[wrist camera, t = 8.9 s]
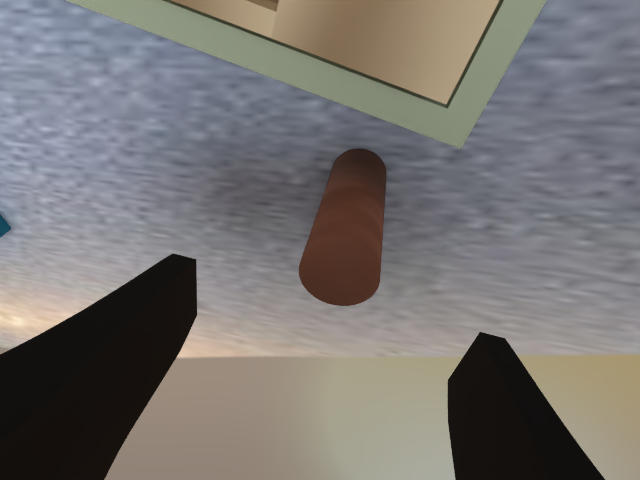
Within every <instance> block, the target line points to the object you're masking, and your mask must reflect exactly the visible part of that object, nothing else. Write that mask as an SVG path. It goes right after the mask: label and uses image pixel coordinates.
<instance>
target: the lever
mask: <svg viewBox="0 0 640 480" xmlns="http://www.w3.org/2000/svg"><path fill="white" fill-rule="evenodd" d="M10 229H11V227H10V226H9V225H8V224H7V222H6V221H5V220H4V219H3V217H2V216H1V215H0V237H2V236H3V235H4V234H5V233H7V232H8V231H9V230H10Z"/></svg>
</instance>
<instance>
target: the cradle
mask: <svg viewBox="0 0 640 480" xmlns="http://www.w3.org/2000/svg"><path fill="white" fill-rule="evenodd" d="M66 1H69V2H72V3H74V4H77V5H79V6H82V7H85V8H87V9H90V10H93V11H95V12H98V13H101V14H103V15H106V16H109V17H111V18H114V19H117V20H119V21H122V22H125V23H127V24H130V25H133V26H135V27H138V28H141V29H143V30H146V31H149V32H151V33H154V34H157V35H159V36H162V37H165V38H167V39H170V40H173V41H175V42H178V43H181V44H183V45H186V46H189V47H191V48H194V49H196V50H199V51H202V52H204V53H207V54H210V55H212V56H215V57H218V58H220V59H223V60H226V61H228V62H231V63H234V64H236V65H239V66H242V67H244V68H247V69H250V70H252V71H255V72H258V73H260V74H263V75H266V76H268V77H271V78H274V79H276V80H279V81H282V82H284V83H287V84H290V85H292V86H295V87H298V88H300V89H303V90H305V91H308V92H311V93H313V94H316V95H319V96H321V97H324V98H327V99H329V100H332V101H335V102H337V103H340V104H343V105H345V106H348V107H351V108H353V109H356V110H359V111H361V112H364V113H367V114H369V115H372V116H375V117H377V118H380V119H383V120H385V121H388V122H391V123H393V124H396V125H399V126H401V127H404V128H407V129H409V130H412V131H415V132H417V133H420V134H422V135H425V136H428V137H430V138H433V139H436V140H438V141H441V142H444V143H446V144H449V145H452V146H454V147H457V148H460V149H461V148H462V146H463V144H464V143H465V141H466V139H467V137H468V136H469V134H470V132H471V130H472V129H473V127H474V125H475V124H476V122H477V120H478V118H479V117H480V115H481V113H482V111H483V110H484V108H485V106H486V104H487V103H488V101H489V99H490V98H491V96H492V94H493V92H494V91H495V89H496V87H497V85H498V84H499V82H500V80H501V78H502V77H503V75H504V73H505V72H506V70H507V68H508V66H509V65H510V63H511V61H512V59H513V58H514V56H515V54H516V52H517V51H518V49H519V47H520V46H521V44H522V42H523V40H524V39H525V37H526V35H527V33H528V32H529V30H530V28H531V26H532V25H533V23H534V21H535V20H536V18H537V16H538V14H539V13H540V11H541V9H542V7H543V6H544V4H545V2H546V0H499V2H498V4H497V6H496V8H495V10H494V12H493V14H492V16H491V18H490V20H489V22H488V24H487V26H486V28H485V30H484V32H483V34H482V36H481V37H480V39H479V41H478V43H477V45H476V47H475V49H474V51H473V53H472V55H471V57H470V59H469V61H468V63H467V65H466V67H465V69H464V71H463V73H462V75H461V77H460V79H459V81H458V83H457V85H456V86H455V88H454V90H453V92H452V94H451V96H450V98H449V100H448V102H447V104H444V103H441V102H438V101H436V100H433V99H430V98H428V97H425V96H422V95H420V94H417V93H414V92H412V91H409V90H407V89H404V88H401V87H399V86H396V85H393V84H391V83H388V82H385V81H383V80H380V79H378V78H375V77H372V76H370V75H367V74H364V73H362V72H359V71H356V70H354V69H351V68H348V67H346V66H343V65H341V64H338V63H335V62H333V61H330V60H327V59H325V58H322V57H319V56H317V55H314V54H311V53H309V52H306V51H304V50H301V49H298V48H296V47H293V46H290V45H288V44H285V43H282V42H280V41H277V40H275V39H272V38H269V37H267V36H264V35H261V34H259V33H256V32H253V31H251V30H248V29H245V28H243V27H240V26H238V25H235V24H232V23H230V22H227V21H224V20H222V19H219V18H216V17H214V16H211V15H208V14H206V13H203V12H201V11H198V10H195V9H193V8H190V7H187V6H185V5H182V4H179V3H177V2H174V1H172V0H66Z"/></svg>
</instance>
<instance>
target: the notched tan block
mask: <svg viewBox="0 0 640 480" xmlns="http://www.w3.org/2000/svg"><path fill="white" fill-rule="evenodd" d="M172 1H174V2H177V3H179V4H182V5H185V6H187V7H190V8H193V9H195V10H198V11H201V12H203V13H206V14H208V15H211V16H214V17H216V18H219V19H222V20H224V21H227V22H230V23H232V24H235V25H238V26H240V27H243V28H245V29H248V30H251V31H253V32H256V33H259V34H261V35H264V36H267V37H269V38H272V39H275V40H277V41H280V42H282V43H285V44H288V45H290V46H293V47H296V48H298V49H301V50H304V51H306V52H309V53H311V54H314V55H317V56H319V57H322V58H325V59H327V60H330V61H333V62H335V63H338V64H341V65H343V66H346V67H348V68H351V69H354V70H356V71H359V72H362V73H364V74H367V75H370V76H372V77H375V78H378V79H380V80H383V81H385V82H388V83H391V84H393V85H396V86H399V87H401V88H404V89H407V90H409V91H412V92H414V93H417V94H420V95H422V96H425V97H428V98H430V99H433V100H436V101H438V102H441V103H444V104H447V102H448V100H449V98H450V96H451V94H452V92H453V90H454V88H455V86H456V85H457V83H458V81H459V79H460V77H461V75H462V73H463V71H464V69H465V67H466V65H467V63H468V61H469V59H470V57H471V55H472V53H473V51H474V49H475V47H476V45H477V43H478V41H479V39H480V37H481V36H482V34H483V32H484V30H485V28H486V26H487V24H488V22H489V20H490V18H491V16H492V14H493V12H494V10H495V8H496V6H497V4H498V2H499V0H172Z"/></svg>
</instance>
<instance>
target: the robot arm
mask: <svg viewBox="0 0 640 480" xmlns="http://www.w3.org/2000/svg"><path fill="white" fill-rule="evenodd" d="M196 316H197V282H196V259H192V258H188V257H184V256H181V255H177V254H171V255H169V256H168V257H166V258H165V259H163V260H161V261H160V262H158V263H157V264H155V265H154V266H152V267H151V268H149V269H148V270H146V271H145V272H143V273H141V274H140V275H138V276H137V277H135V278H134V279H132V280H131V281H129V282H128V283H126V284H124V285H123V286H121V287H120V288H118V289H117V290H115V291H113V292H112V293H110V294H108V295H107V296H105V297H104V298H102V299H100V300H99V301H97V302H95V303H94V304H92V305H91V306H89V307H87V308H86V309H84V310H82V311H81V312H79V313H77V314H75V315H73V316H72V317H70V318H68V319H66V320H65V321H63V322H61V323H59V324H58V325H56V326H54V327H52V328H50V329H49V330H47V331H45V332H43V333H41V334H40V335H38V336H36V337H34V338H32V339H30V340H28V341H26V342H24V343H22V344H21V345H19V346H17V347H15V348H13V349H11V350H9V351H7V352H5V353H3V354H0V480H104V479H105V477H106V475H107V473H108V471H109V469H110V467H111V465H112V463H113V461H114V459H115V457H116V455H117V453H118V452H119V450H120V448H121V446H122V444H123V443H124V441H125V439H126V438H127V436H128V434H129V432H130V431H131V429H132V428H133V426H134V424H135V423H136V421H137V420H138V418H139V416H140V415H141V413H142V412H143V410H144V408H145V407H146V405H147V403H148V402H149V400H150V399H151V397H152V396H153V394H154V392H155V391H156V389H157V388H158V386H159V384H160V383H161V381H162V380H163V378H164V376H165V375H166V373H167V371H168V370H169V368H170V367H171V365H172V363H173V362H174V360H175V359H176V357H177V355H178V354H179V352H180V350H181V348H182V346H183V344H184V342H185V340H186V338H187V336H188V334H189V331H190V329H191V327H192V325H193V323H194V320H195V318H196ZM448 424H449V432H450V440H451V448H452V456H453V463H454V470H455V478H456V480H605V479H604V478H603V476H602V475H601V474H600V472H599V471H598V470H597V469H596V467H595V466H594V465H593V463H592V462H591V461H590V459H589V458H588V457H587V455H586V454H585V453H584V451H583V450H582V449H581V447H580V446H579V445H578V443H577V442H576V441H575V439H574V438H573V436H572V435H571V434H570V432H569V431H568V430H567V428H566V427H565V425H564V424H563V422H562V421H561V419H560V418H559V417H558V415H557V414H556V412H555V411H554V410H553V408H552V407H551V405H550V404H549V402H548V401H547V399H546V398H545V397H544V395H543V393H542V392H541V391H540V389H539V388H538V386H537V385H536V383H535V382H534V380H533V379H532V377H531V376H530V374H529V373H528V371H527V370H526V368H525V367H524V365H523V364H522V362H521V361H520V359H519V358H518V356H517V355H516V354H515V352H514V351H513V349H512V348H511V346H510V345H509V344H508V342H507V341H506V339H505V338H502V337H498V336H494V335H490V334H486V333H482V332H480V333H479V334H478V336H477V337H476V339H475V340H474V342H473V343H472V345H471V346H470V348H469V349H468V351H467V352H466V354H465V355H464V357H463V358H462V360H461V361H460V363H459V364H458V366H457V367H456V369H455V371H454V372H453V373H452V375H451V376H450V378H449V379H448Z"/></svg>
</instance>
